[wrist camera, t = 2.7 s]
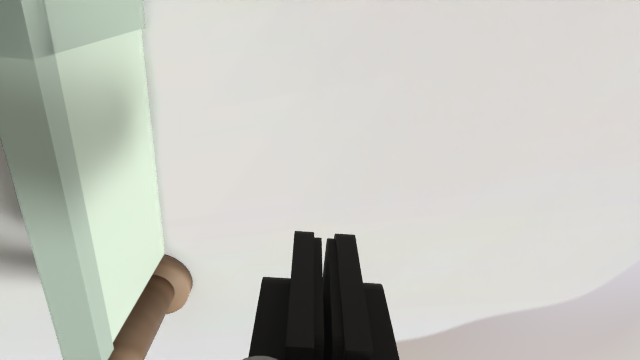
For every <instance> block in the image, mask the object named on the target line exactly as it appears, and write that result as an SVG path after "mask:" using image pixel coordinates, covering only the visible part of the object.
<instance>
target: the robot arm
mask: <svg viewBox="0 0 640 360" xmlns="http://www.w3.org/2000/svg"><path fill="white" fill-rule="evenodd" d="M243 360H399V356H398V351H397V347H396V342H395V338H394V333H393V329H392V325H391V320H390V316H389V311H388V307H387V303H386V298H385V294H384V289H383V286H382V285H381V284H374V283H363V281H362V275H361V269H360V263H359V257H358V250H357V244H356V238H355V235H348V234H335V236H334V239H329V238H327V243H326V252H325V261H324V270H323V277H322V241H321V238H314V232H302V231H295V234H294V246H293V259H292V271H291V279H290V278H273V277H263V279H262V283H261V289H260V295H259V300H258V306H257V312H256V317H255V323H254V329H253V334H252V340H251V346H250V351H249V357H248V358H245V359H243Z"/></svg>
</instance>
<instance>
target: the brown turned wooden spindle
mask: <svg viewBox="0 0 640 360" xmlns="http://www.w3.org/2000/svg"><path fill="white" fill-rule="evenodd" d="M191 289H192V277H191V274H190V272H189V271H188V269H187V268H186V267H185V266H184V265H183V264H182V263H181V262H180V261H178V260H176V259H175V258H173V257H170V256H167V255H163V257H162V259H161V261H160V262H159V264H158V266H157V267H156V269H155V271H154V273H153V274H152V276H151V278H150V280H149V281H148V283H147V285H146V286H145V288H144V290H143V292H142V293H141V295H140V297H139V298H138V300H137V302H136V304H135V305H134V307H133V309H132V310H131V312H130V314H129V316H128V317H127V319H126V321H125V323H124V324H123V326H122V328H121V329H120V331H119V333H118V335H117V336H116V338H115V340H114V341H113V346H114V350H113V351H112V353H111V355H110V357H109V358H108V360H144V359H145V356H146V354H147V352H148V350H149V348H150V346H151V344H152V342H153V340H154V337H155V335H156V333H157V331H158V329H159V327H160V325H161V323H162V321H163V319H164V316H165V314H170V313H173V312H175V311H177V310H179V309H180V308H182V307H183V305H184V304H185V303H186V301H187V298H188V296H189V294H190V291H191Z"/></svg>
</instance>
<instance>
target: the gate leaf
mask: <svg viewBox="0 0 640 360" xmlns="http://www.w3.org/2000/svg"><path fill="white" fill-rule="evenodd" d="M143 28H145V18H144V8H143V0H0V138H1V142H2V145H3V149H4V152H5V156H6V159H7V163H8V167H9V170H10V174H11V177H12V181H13V184H14V188H15V191H16V195H17V198H18V202H19V205H20V209H21V212H22V216H23V219H24V223H25V227H26V230H27V234H28V237H29V241H30V244H31V248H32V251H33V255H34V258H35V262H36V265H37V269H38V272H39V276H40V279H41V283H42V287H43V290H44V294H45V297H46V301H47V304H48V308H49V311H50V315H51V318H52V322H53V325H54V329H55V332H56V336H57V339H58V343H59V347H60V350H61V354H62V357H63V360H108V358H109V357H110V355H111V353H112V351H113V350H114V346H113V341H114V340H115V338H116V336H117V335H118V333H119V331H120V329H121V328H122V326H123V324H124V323H125V321H126V319H127V317H128V316H129V314H130V312H131V310H132V309H133V307H134V305H135V304H136V302H137V300H138V298H139V297H140V295H141V293H142V292H143V290H144V288H145V286H146V285H147V283H148V281H149V280H150V278H151V276H152V274H153V273H154V271H155V269H156V267H157V266H158V264H159V262H160V261H161V259H162V257H163V255H164V254H165V250H164V240H163V231H162V221H161V212H160V202H159V193H158V183H157V174H156V164H155V155H154V145H153V136H152V126H151V117H150V107H149V98H148V88H147V79H146V69H145V60H144V50H143V41H142V31H141V29H143Z"/></svg>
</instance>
